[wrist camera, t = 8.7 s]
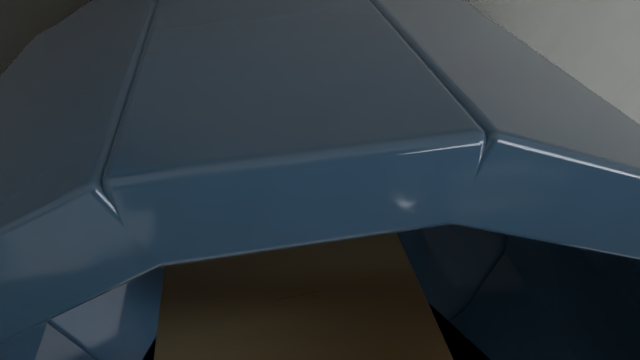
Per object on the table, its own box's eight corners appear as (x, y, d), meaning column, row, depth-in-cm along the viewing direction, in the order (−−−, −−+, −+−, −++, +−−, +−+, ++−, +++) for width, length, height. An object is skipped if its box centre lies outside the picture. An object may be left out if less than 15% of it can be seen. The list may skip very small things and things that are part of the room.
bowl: (85, 428, 15) (16, 754, 10) (-171, -19, 8) (-997, 321, 2) (493, 355, 16) (624, 606, 11) (601, -81, 9) (1129, 49, 4)
